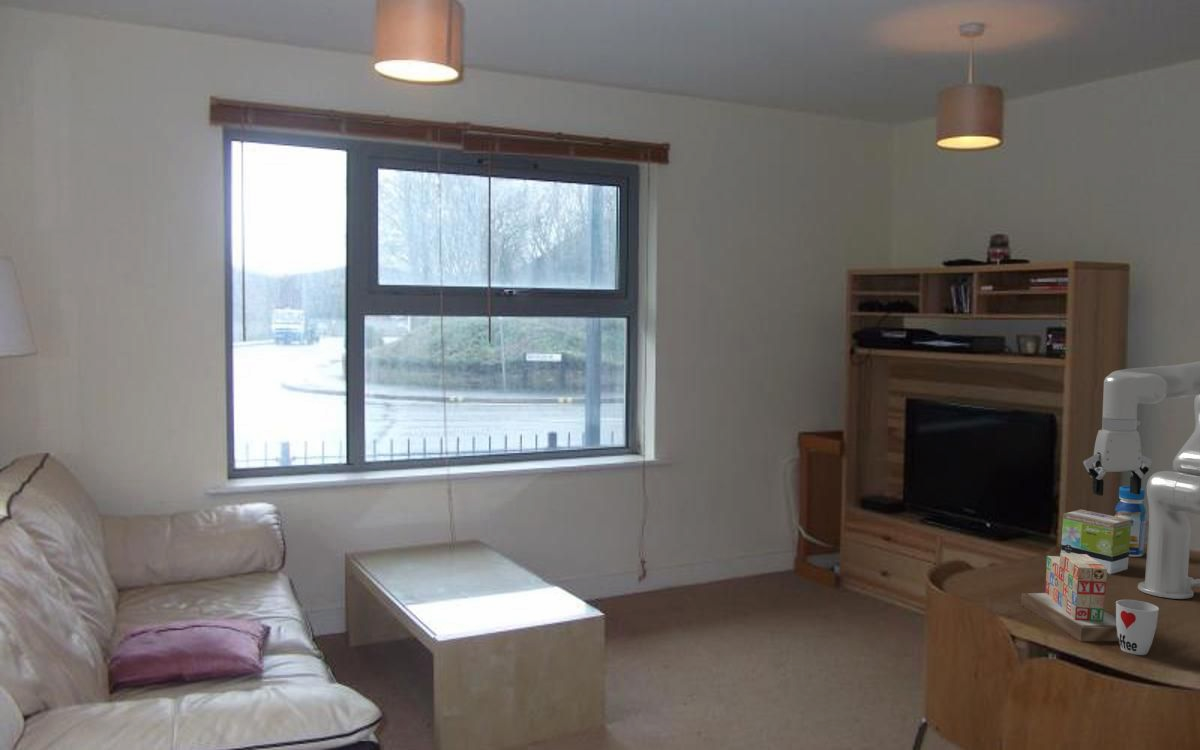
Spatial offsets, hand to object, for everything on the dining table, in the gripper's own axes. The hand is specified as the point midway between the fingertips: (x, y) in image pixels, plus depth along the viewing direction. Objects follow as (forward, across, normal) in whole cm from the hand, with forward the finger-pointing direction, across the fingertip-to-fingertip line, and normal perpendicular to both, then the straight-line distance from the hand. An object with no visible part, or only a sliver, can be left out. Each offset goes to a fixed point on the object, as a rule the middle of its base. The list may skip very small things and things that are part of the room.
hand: (1116, 493), depth 248 cm
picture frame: (+27, +18, +14) cm, 35 cm away
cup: (+27, +16, +33) cm, 46 cm away
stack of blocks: (+24, +18, +13) cm, 33 cm away
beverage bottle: (+30, -35, -47) cm, 66 cm away
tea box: (+29, -16, -34) cm, 47 cm away
